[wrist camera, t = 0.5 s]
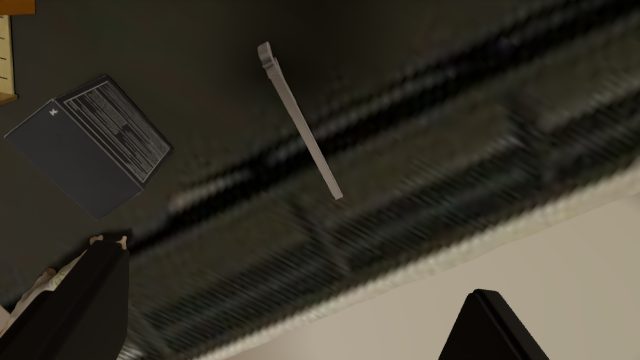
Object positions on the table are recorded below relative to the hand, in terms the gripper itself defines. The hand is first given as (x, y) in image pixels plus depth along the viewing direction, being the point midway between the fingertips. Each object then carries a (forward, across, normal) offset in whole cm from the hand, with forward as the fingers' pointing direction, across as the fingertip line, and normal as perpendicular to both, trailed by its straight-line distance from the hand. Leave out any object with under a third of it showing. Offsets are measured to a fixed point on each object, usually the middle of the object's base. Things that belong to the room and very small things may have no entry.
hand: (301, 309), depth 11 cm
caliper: (+35, -3, +5) cm, 36 cm away
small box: (+36, +17, +9) cm, 41 cm away
